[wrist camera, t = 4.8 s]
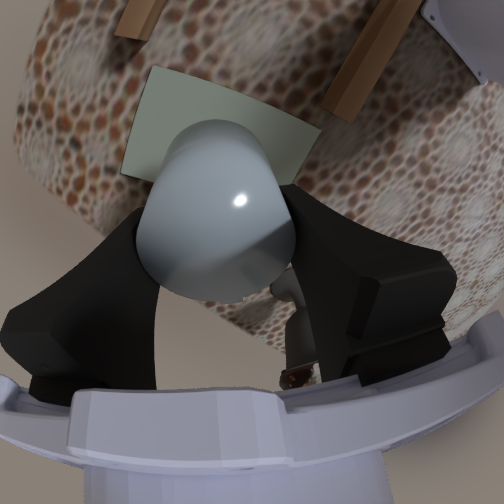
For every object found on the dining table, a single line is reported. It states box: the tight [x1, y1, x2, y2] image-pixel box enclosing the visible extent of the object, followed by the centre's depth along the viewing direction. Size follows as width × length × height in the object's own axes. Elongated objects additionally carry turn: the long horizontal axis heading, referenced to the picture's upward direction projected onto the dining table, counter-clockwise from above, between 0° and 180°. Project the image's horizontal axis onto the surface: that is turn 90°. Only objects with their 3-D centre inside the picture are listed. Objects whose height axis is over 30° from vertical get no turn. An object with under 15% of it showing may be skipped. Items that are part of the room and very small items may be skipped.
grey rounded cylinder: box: [136, 119, 296, 305], centre depth 11 cm, size 7×5×6 cm
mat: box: [121, 65, 322, 186], centre depth 18 cm, size 12×8×1 cm, turn 65°
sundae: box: [271, 268, 322, 390], centre depth 22 cm, size 7×7×15 cm
